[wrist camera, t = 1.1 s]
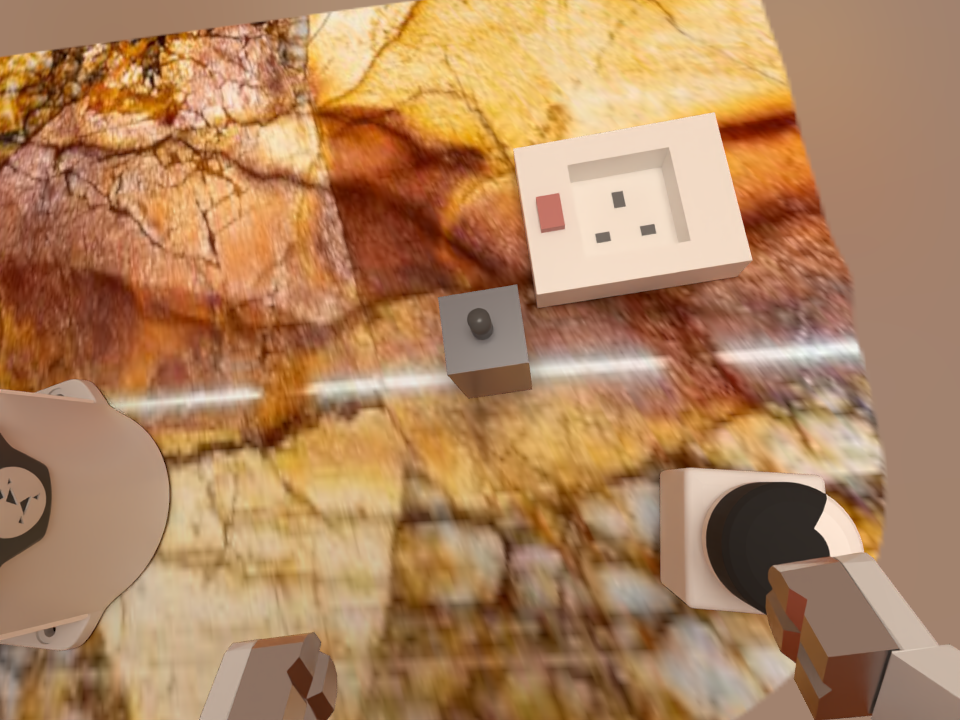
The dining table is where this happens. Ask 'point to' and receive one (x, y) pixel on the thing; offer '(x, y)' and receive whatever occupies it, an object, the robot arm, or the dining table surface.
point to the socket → (630, 211)
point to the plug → (485, 342)
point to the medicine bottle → (743, 533)
